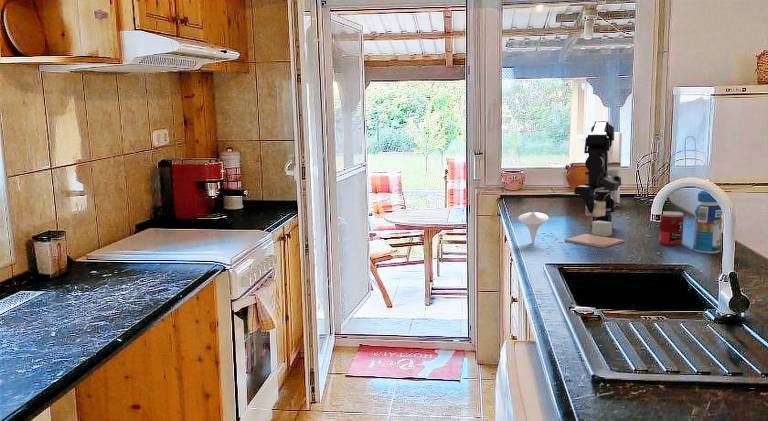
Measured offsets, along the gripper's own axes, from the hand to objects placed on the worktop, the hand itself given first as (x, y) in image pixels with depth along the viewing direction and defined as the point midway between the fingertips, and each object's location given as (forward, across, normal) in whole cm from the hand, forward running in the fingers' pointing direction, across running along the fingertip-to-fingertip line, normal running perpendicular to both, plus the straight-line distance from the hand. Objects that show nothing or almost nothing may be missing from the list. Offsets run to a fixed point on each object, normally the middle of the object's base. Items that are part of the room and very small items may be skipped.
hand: (595, 211), depth 240 cm
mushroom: (+11, -16, +15) cm, 25 cm away
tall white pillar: (+11, +73, +42) cm, 85 cm away
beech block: (+1, 0, 0) cm, 1 cm away
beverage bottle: (+11, +12, -35) cm, 39 cm away
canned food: (+11, +15, -21) cm, 28 cm away
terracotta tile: (+11, 0, 0) cm, 11 cm away
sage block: (+11, +13, +5) cm, 18 cm away
